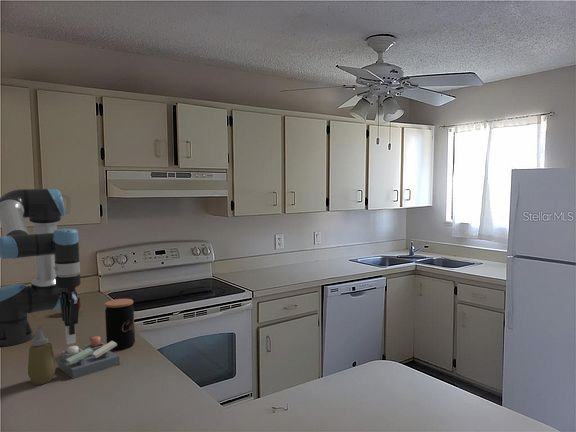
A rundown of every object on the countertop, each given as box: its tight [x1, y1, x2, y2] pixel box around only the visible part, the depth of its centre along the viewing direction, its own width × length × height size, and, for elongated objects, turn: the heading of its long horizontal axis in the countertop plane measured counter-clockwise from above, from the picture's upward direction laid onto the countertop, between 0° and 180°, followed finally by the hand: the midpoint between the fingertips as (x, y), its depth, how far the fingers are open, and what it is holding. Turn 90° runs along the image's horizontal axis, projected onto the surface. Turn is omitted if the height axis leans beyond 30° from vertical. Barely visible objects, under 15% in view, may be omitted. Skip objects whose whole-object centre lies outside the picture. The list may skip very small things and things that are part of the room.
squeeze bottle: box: [27, 326, 56, 385], centre depth 144 cm, size 8×8×18 cm
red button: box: [89, 335, 102, 348], centre depth 162 cm, size 4×4×3 cm
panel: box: [57, 341, 121, 379], centre depth 157 cm, size 14×16×6 cm
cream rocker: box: [92, 341, 117, 358], centre depth 158 cm, size 4×8×2 cm, turn 136°
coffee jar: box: [104, 298, 136, 351], centre depth 176 cm, size 11×11×18 cm
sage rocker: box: [66, 348, 94, 364], centre depth 151 cm, size 4×8×2 cm, turn 136°
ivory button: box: [66, 345, 80, 354], centre depth 156 cm, size 4×4×3 cm
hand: (71, 342), depth 150 cm, fingers closed
